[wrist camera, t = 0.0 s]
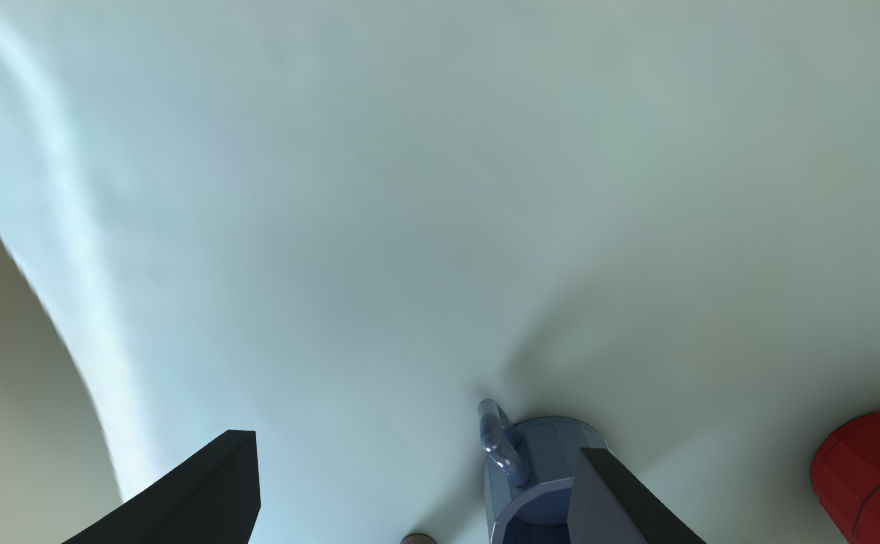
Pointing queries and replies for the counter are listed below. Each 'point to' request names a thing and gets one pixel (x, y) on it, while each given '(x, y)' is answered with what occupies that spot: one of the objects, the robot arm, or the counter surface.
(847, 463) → the plastic cup
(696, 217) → the counter surface
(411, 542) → the stirrer
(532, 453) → the coffee cup
